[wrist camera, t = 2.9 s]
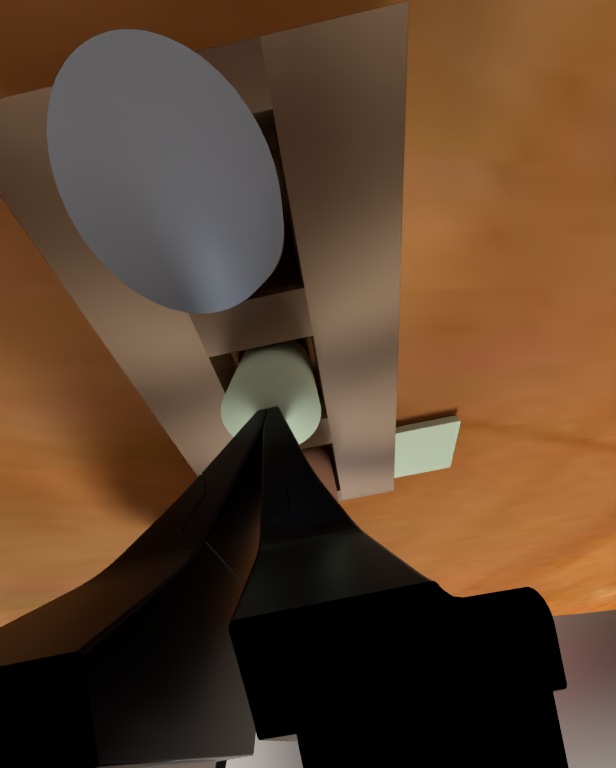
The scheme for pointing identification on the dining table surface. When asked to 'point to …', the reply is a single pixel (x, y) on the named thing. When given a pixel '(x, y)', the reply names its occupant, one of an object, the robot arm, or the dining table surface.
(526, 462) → the dining table surface
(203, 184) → the grey rounded piece
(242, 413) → the sage button
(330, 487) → the terracotta button
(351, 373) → the button board
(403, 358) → the dining table surface
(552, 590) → the dining table surface
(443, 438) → the chip
